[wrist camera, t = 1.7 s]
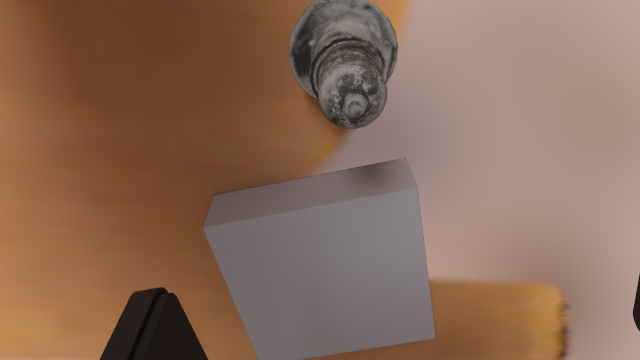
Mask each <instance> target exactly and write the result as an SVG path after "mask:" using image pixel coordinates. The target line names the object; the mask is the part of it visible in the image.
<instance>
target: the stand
mask: <svg viewBox="0 0 640 360" xmlns="http://www.w3.org/2000/svg"><path fill="white" fill-rule="evenodd" d="M202 228H203V231H204V233H205V235H206V238H207V240H208V242H209V245H210V247H211V250H212V252H213V254H214V257H215V259H216V261H217V264H218V266H219V268H220V271H221V273H222V275H223V278H224V280H225V283H226V285H227V287H228V290H229V292H230V294H231V297H232V299H233V301H234V304H235V306H236V308H237V311H238V313H239V316H240V318H241V320H242V323H243V325H244V327H245V330H246V332H247V334H248V337H249V339H250V342H251V344H252V346H253V349H254V351H255V353H256V356H257V358H258V360H303V359H309V358H315V357H322V356H328V355H335V354H341V353H347V352H354V351H360V350H366V349H373V348H379V347H385V346H392V345H398V344H405V343H411V342H417V341H424V340H430V339H436V337H435V328H434V320H433V312H432V303H431V295H430V287H429V279H428V271H427V262H426V254H425V246H424V237H423V229H422V221H421V212H420V204H419V196H418V188H417V185H416V183H415V180H414V177H413V175H412V172H411V170H410V167H409V165H408V162H407V160H406V158H403V159H398V160H392V161H387V162H383V163H377V164H372V165H367V166H361V167H356V168H351V169H346V170H341V171H336V172H330V173H325V174H320V175H315V176H310V177H305V178H299V179H294V180H289V181H284V182H279V183H273V184H268V185H263V186H258V187H253V188H248V189H242V190H237V191H232V192H227V193H222V194H217V195H213V198H212V201H211V204H210V207H209V210H208V213H207V216H206V219H205V222H204V225H203V227H202Z"/></svg>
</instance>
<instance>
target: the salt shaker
mask: <svg viewBox="0 0 640 360" xmlns="http://www.w3.org/2000/svg"><path fill="white" fill-rule="evenodd" d="M397 50H398V44H397V39H396V34H395V30H394V28H393V26H392V24H391V22H390V20H389V18H388V17H387V16H386V15H385V14H384V13H383V12H382V11H381V10H380V8H379V7H377V6H375V5H374V4H372V3H371V2H369V1H367V0H315V1H313V2H312V3H311V4H310V5H309V6H308V7H307V8H306V10H305V11H304V12H303V14H302V16H301V18H300V19H299V20H298V22H297V24H296V26H295V28H294V30H293V32H292V34H291V39H290V44H289V62H290V66H291V69H292V72H293V75H294V77H295V78H296V80H297V81H298V83H299V85H300V86H301V87H302V88H303V89H304V90H305V91H306V92H307V93H308V94H309V95H310V96H312V97H314V98H316V99H318V100H319V103H320V107H321V110H322V111H323V113H324V115H325V116H326V117H327V119H329V120H330V121H331V122H332V123H333V124H335V125H337V126H339V127H342V128H347V129H355V128H360V127H364V126H366V125H368V124H370V123H371V122H373V121H374V120H375V119H376V118H377V117H378V116H379V115H380V113H381V112H382V110H383V109H384V106H385V103H386V100H387V87H386V82H387V81H388V79H389V78H390V76H391V74H392V73H393V70H394V67H395V64H396V61H397Z"/></svg>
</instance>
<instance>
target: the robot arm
mask: <svg viewBox="0 0 640 360" xmlns="http://www.w3.org/2000/svg"><path fill="white" fill-rule="evenodd" d="M633 317H634V321H635V324H636V326H637V328H638V329H639V331H640V275H639V281H638V287H637V292H636V298H635V304H634V309H633ZM100 360H208V358H207V356H206V354H205V352H204V350H203V348H202V346H201V344H200V342H199V340H198V338H197V336H196V334H195V332H194V330H193V328H192V326H191V324H190V322H189V320H188V318H187V316H186V314H185V312H184V310H183V308H182V306H181V304H180V302H179V300H178V298H177V296H176V295H175V294H174V293H168V292H167V290H166V289H165V288H162V287H160V288H154V289H148V290H142V291H137V292H134V293H133V294H132V295H131V297H130V298H129V300H128V303H127V305H126V307H125V309H124V311H123V313H122V315H121V317H120V319H119V321H118V323H117V325H116V327H115V329H114V331H113V333H112V335H111V337H110V339H109V341H108V344H107V346H106V348H105V350H104V352H103V354H102V356H101V358H100Z"/></svg>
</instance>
